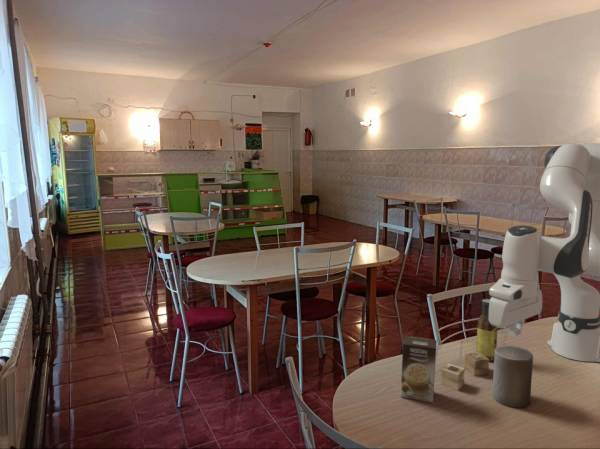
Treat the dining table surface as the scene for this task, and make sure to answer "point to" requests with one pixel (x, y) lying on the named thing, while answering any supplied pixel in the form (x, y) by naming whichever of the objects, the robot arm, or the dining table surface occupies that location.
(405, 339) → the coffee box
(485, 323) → the sauce bottle
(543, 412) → the dining table surface
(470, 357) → the wooden cube
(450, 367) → the marked block beech
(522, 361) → the pillar candle
